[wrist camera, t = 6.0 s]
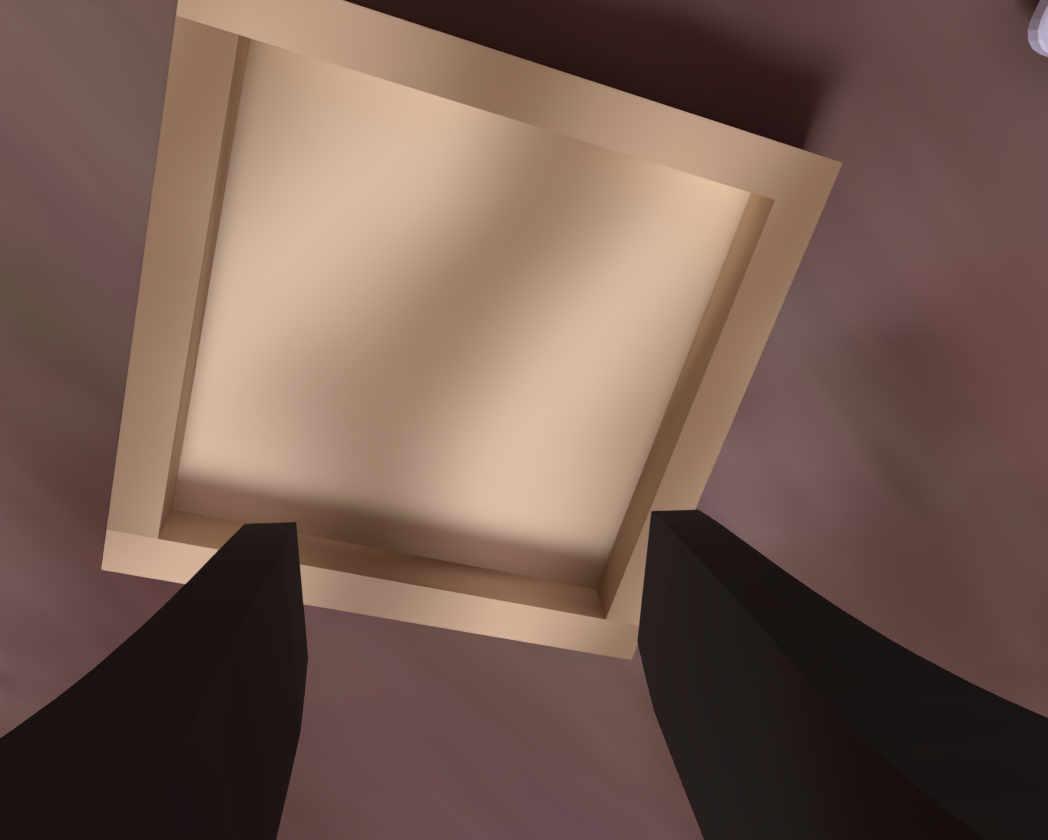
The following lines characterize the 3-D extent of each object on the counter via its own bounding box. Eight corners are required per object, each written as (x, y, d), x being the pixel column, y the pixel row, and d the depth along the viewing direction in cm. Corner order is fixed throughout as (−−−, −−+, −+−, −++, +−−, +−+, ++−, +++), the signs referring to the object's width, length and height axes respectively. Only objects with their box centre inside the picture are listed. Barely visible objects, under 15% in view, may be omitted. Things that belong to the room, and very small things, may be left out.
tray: (804, 150, 18) (842, 162, 17) (615, 614, 23) (631, 660, 21) (209, -44, 16) (185, -51, 14) (126, 524, 20) (101, 569, 18)
